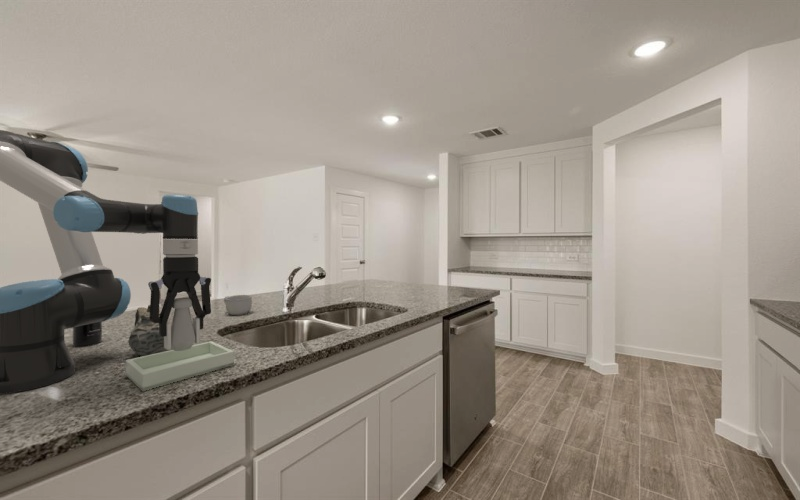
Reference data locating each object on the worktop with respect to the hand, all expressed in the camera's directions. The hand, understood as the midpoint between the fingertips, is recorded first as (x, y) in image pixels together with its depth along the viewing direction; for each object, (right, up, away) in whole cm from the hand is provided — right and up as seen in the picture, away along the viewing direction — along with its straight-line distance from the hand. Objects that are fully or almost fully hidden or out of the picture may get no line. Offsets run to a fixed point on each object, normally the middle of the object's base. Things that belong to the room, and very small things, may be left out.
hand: (182, 345), depth 85 cm
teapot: (-16, -6, +11) cm, 21 cm away
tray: (0, -7, 0) cm, 7 cm away
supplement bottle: (-44, -6, +21) cm, 49 cm away
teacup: (-18, -5, +65) cm, 68 cm away
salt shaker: (0, -1, 0) cm, 1 cm away
